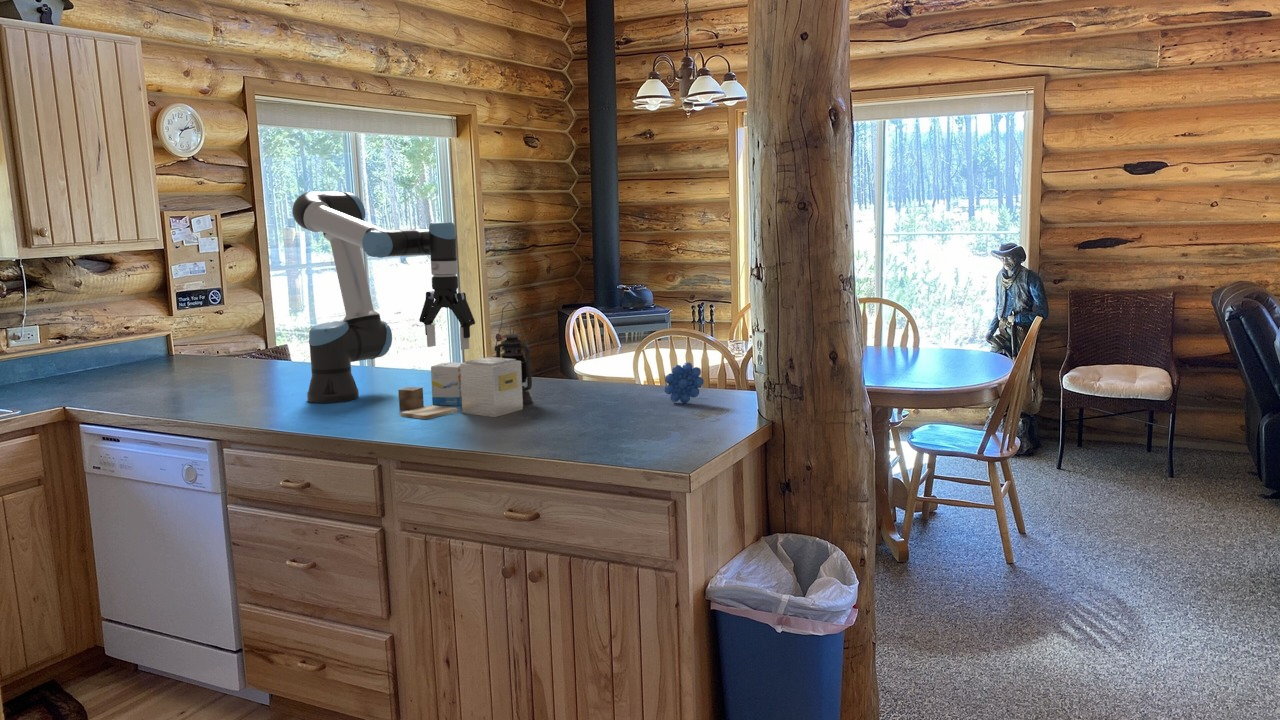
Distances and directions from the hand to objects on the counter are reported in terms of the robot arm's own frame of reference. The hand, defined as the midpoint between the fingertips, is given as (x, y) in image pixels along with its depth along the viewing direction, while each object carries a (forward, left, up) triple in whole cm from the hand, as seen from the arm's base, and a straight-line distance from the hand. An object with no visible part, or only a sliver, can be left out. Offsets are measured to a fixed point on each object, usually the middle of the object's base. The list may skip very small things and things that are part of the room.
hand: (448, 347), depth 281 cm
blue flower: (+62, +32, -17) cm, 72 cm away
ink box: (0, 0, -17) cm, 17 cm away
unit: (+20, -4, -17) cm, 26 cm away
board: (+6, -15, -17) cm, 23 cm away
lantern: (+17, +9, -17) cm, 25 cm away
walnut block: (-4, -12, -17) cm, 21 cm away
